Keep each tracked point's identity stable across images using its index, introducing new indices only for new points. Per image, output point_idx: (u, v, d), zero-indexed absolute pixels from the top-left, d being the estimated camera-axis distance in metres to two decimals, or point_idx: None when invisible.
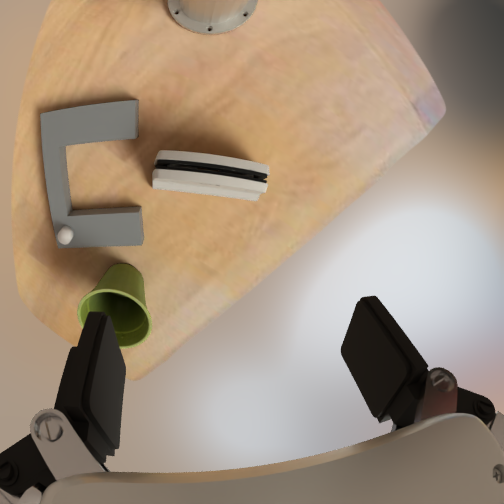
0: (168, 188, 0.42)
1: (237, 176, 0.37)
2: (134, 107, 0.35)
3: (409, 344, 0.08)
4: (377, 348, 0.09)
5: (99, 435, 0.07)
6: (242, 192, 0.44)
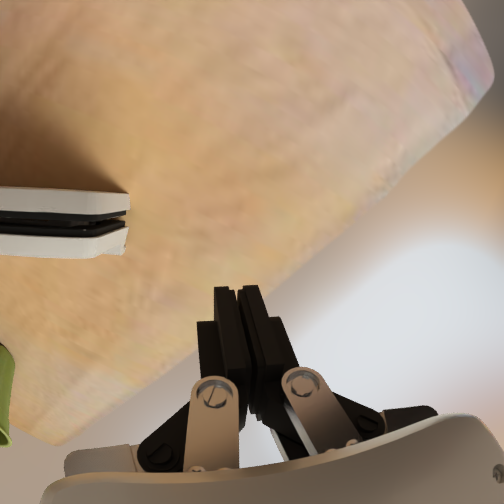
0: None
1: (20, 231, 0.13)
2: None
3: (271, 337, 0.09)
4: (246, 339, 0.10)
5: None
6: None
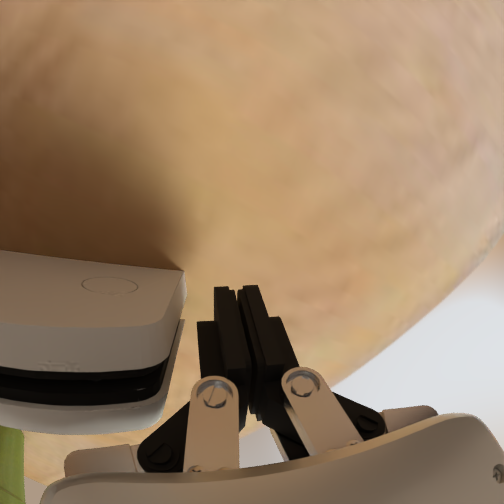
0: None
1: (13, 394, 0.05)
2: None
3: (271, 337, 0.09)
4: (246, 339, 0.10)
5: None
6: None
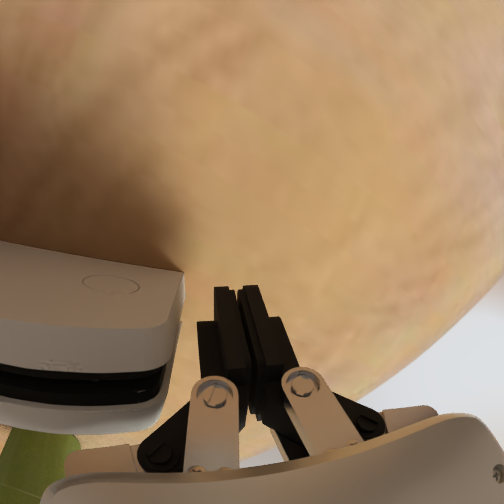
0: None
1: (10, 392, 0.05)
2: None
3: (271, 337, 0.09)
4: (246, 339, 0.10)
5: None
6: None
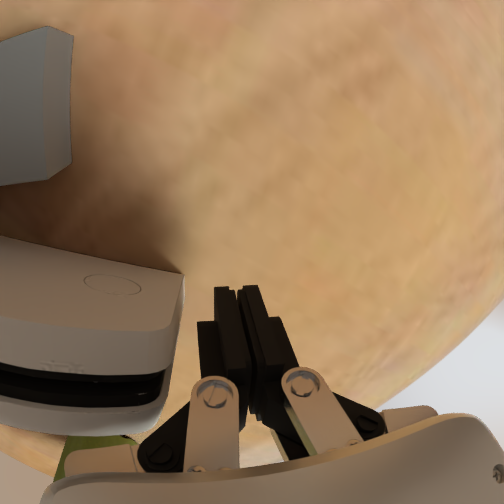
0: None
1: (8, 391, 0.05)
2: (43, 54, 0.06)
3: (271, 337, 0.09)
4: (246, 339, 0.10)
5: None
6: None
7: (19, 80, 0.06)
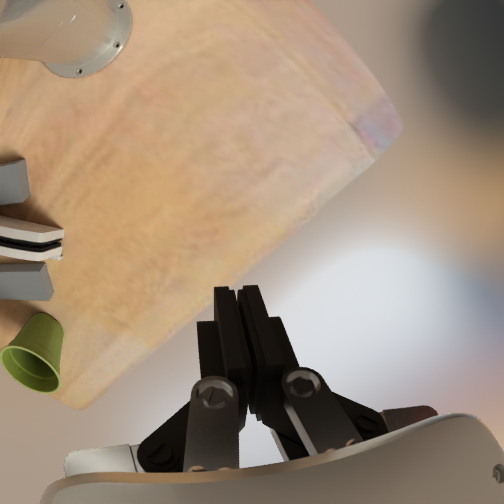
0: None
1: (9, 246, 0.28)
2: (17, 170, 0.29)
3: (271, 337, 0.09)
4: (246, 339, 0.10)
5: None
6: None
7: (12, 177, 0.29)
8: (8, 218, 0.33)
